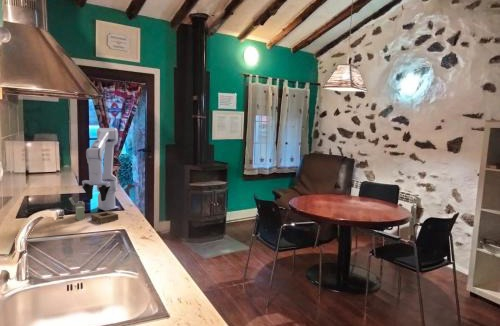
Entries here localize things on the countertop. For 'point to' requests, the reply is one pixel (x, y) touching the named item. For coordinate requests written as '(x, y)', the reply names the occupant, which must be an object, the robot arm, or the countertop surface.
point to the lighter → (80, 203)
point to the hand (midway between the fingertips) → (96, 199)
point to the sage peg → (79, 213)
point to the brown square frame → (104, 217)
